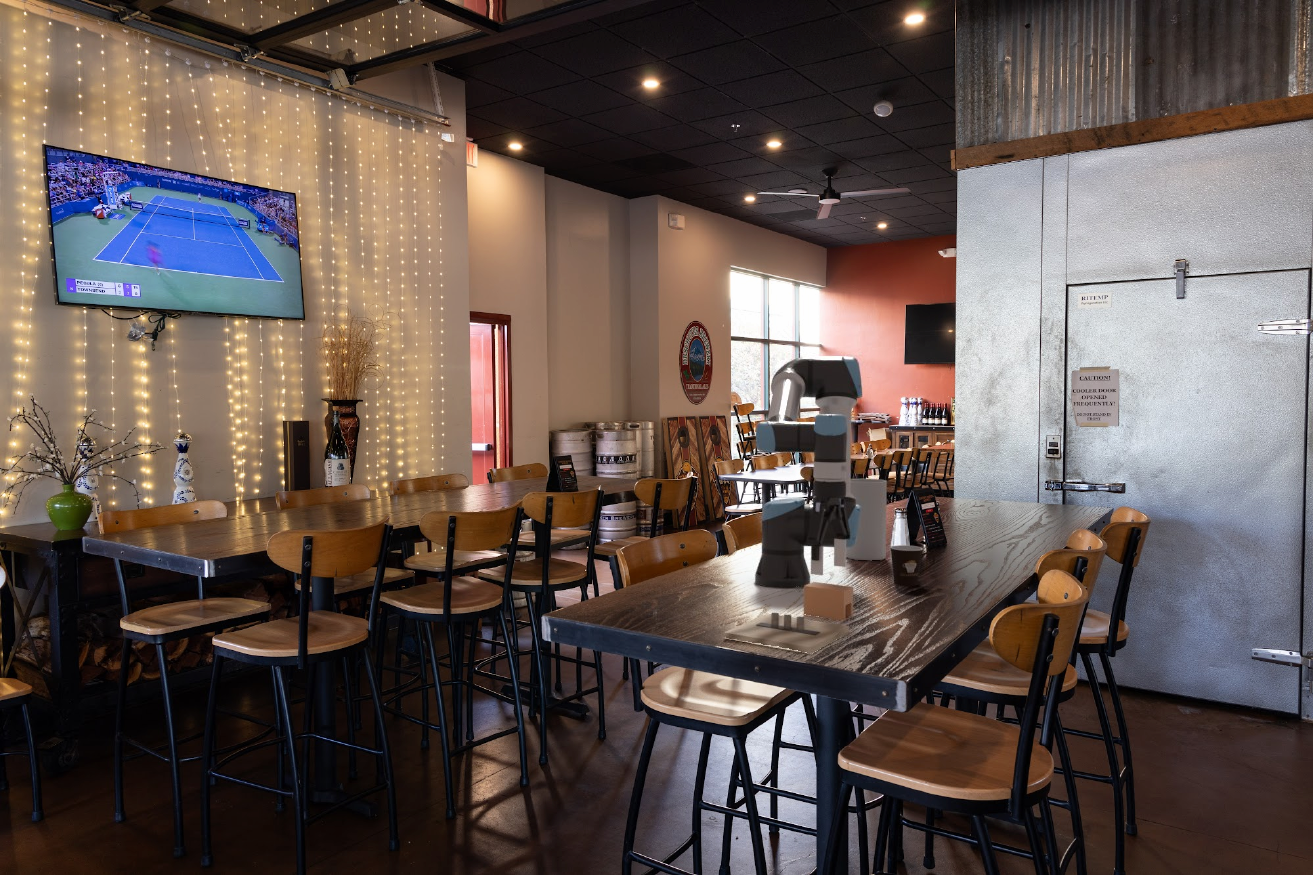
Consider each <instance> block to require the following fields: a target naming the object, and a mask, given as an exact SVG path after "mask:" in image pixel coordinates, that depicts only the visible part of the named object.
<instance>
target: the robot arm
mask: <svg viewBox="0 0 1313 875" xmlns="http://www.w3.org/2000/svg"><path fill="white" fill-rule="evenodd" d="M861 376H862V374H861V368H860V363H859V361H858V359H857V357H853V356H843V355H840V356H800V357H797V358H795V359H792V360H790V361H788V362H786V363H785V364H784V365H782V366H781V367H780V368H779V369H778V370H777V371H776V372H775V374H773V377H772V378H771V379H772V380H771V383H770V391H771V394H772V396H771V401H770V406H769V410H768V414H767V420H766V421H760V422H758V423H757V424H756V429H755V446H756V449H757V450H758V451H759V452H766V453H771V454H772V453H807V454H808V453H811V454H812V453H814V455H813V473H812V474H813V478H814V479H815V480H814V481H813V493H812V494H813V497H812V503H806V500H805V499H804V498H802V497H792V498H791V497H790V498H789V497H788V498H782V499H775V500H770V501H768V502H765V503H764V505H762V509H761V510H762V515H761V519H760V521H761V555H760V559H759V562H758V565H757V568H756V570H755V574H754V583H755V584H757V585H760V586H762V587H767V588H776V589H778V588H779V589H796V588H797V589H798V588H804V586H805V585H807V584H810V583H811V575H815V576H816V575H817V576H824V548H833V554H834V555H833V566H834V567H842V568H845V567H846V566H847V560H846V559H847V557H846V547H853V546H854V545H855V544H856V540H857V533H858V527H859V520H860V513H861V506H859V505H856V498H855V497H854V496H853V495H852V494H851V492H850V479H852V478H851V476H852V475H851V469H852V467H851V466H852V465H851V464H852V462H851V461H852V459H851V458H852V454H851V453H852V409H853V408H855V407H856V406H857V404H858V399H861V398H863V387H862V386H863V385H862V377H861ZM802 398H815V399H814V400H815V401H814V403H815V405H816V406H817V407H818V408H819V409H820V411H819V412H820V413H819V414H816V415H815V418H814V421H812V422H811V421H806V422H805V421H798V417H799V412H800V411H799V410H800V403H801V402H800V401H801V399H802ZM805 547H810V570H809V567H808V564H807V562H806V558H805ZM809 571H810V572H809Z"/></svg>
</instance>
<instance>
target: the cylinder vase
mask: <svg viewBox="0 0 1313 875" xmlns="http://www.w3.org/2000/svg"><path fill="white" fill-rule="evenodd" d="M887 483H888V482H887V480H886V479H885V480H884V479H877V478H876V479H875V478H851V479H850V492H851V494H852V495H853V496H854V497H855V498H856V505H859V506H861V513H860V520H859V527H858V533H857V540H856V544H855V545H854V546H853V547H846V559H849V560H852V559H854V560H853V561H858V560H870V561H869V562H873V561H872V560H880V561H883V560H884V559H885V558H886V555H887V554H886V551H887V550H886V548H887V547H886V546H887V545H886V544H887V543H886V539H887V538H886V536H887V535H886V534H887V488H888V487H887Z"/></svg>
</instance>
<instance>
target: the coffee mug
mask: <svg viewBox="0 0 1313 875" xmlns="http://www.w3.org/2000/svg"><path fill="white" fill-rule="evenodd" d="M889 549H890V556H891V567H892V578H893V584H894V585H896V586H901V587H916V586H918V585H919V579H920V575H921V574H922V573H924V572H925V571H927V570H929V568H931V566H932V565H933V564H934V563H935V561H936V558H935V555H934V554H933V553H932V552H929V551H926V552H923V549H924V548H922V547H920V546H918V545H917V546H915V545H908V544H907V545H903V544H900V545H898V544H897V545H891V546H890V548H889ZM926 555H930V556H931V557H932V561H931V562H930V564H928V565H927V566H926V567H924V568H923V569H922V570H921V566H922V565H921V564H922V559H923V558H924V557H925V556H926Z"/></svg>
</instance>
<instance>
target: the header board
mask: <svg viewBox="0 0 1313 875" xmlns="http://www.w3.org/2000/svg"><path fill="white" fill-rule="evenodd" d="M779 614H780V613H779V612H771V613H768V612H767V613H765V614H762V615H760V616H758V617H755V618H754V619H751V620H749V621H746V622H744V623H742V624H740V625H737V626H735V627H733V628H731V629H728V630H726V631H724V632H723V638H724V637H726V638H729V639H737V640H741V641H748V642H752V643H761V644H763V645H771V646H779V647H782V648H789V649H792V650H798V651H801V652H807V653H811V654H812V653H813V652H815V651H817V650H819V649H820V648H822V647H824V646H826V645H828V644H829V643H831V644H832V642H833V641H835V640H836V639H838V640H839V638H840V637H841V638H843V637H845V636H847V635H848V634H850V625H843V624H837V623H831V622H825V621H818V620H812V619H805V617H804V616H801V615H800V616H796V617H793V616H792V615H791V614H784V615H781V614H780V615H779ZM847 633H848V634H847ZM846 634H847V635H846ZM844 635H845V636H844ZM841 638H840V639H841ZM836 641H837V640H836ZM836 641H835V642H836ZM833 643H834V642H833ZM829 645H830V644H829ZM829 645H828V646H829ZM826 647H827V646H826ZM824 648H825V647H824ZM822 649H823V648H822ZM819 651H820V650H819ZM817 652H818V651H817ZM812 655H813V654H812Z"/></svg>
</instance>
